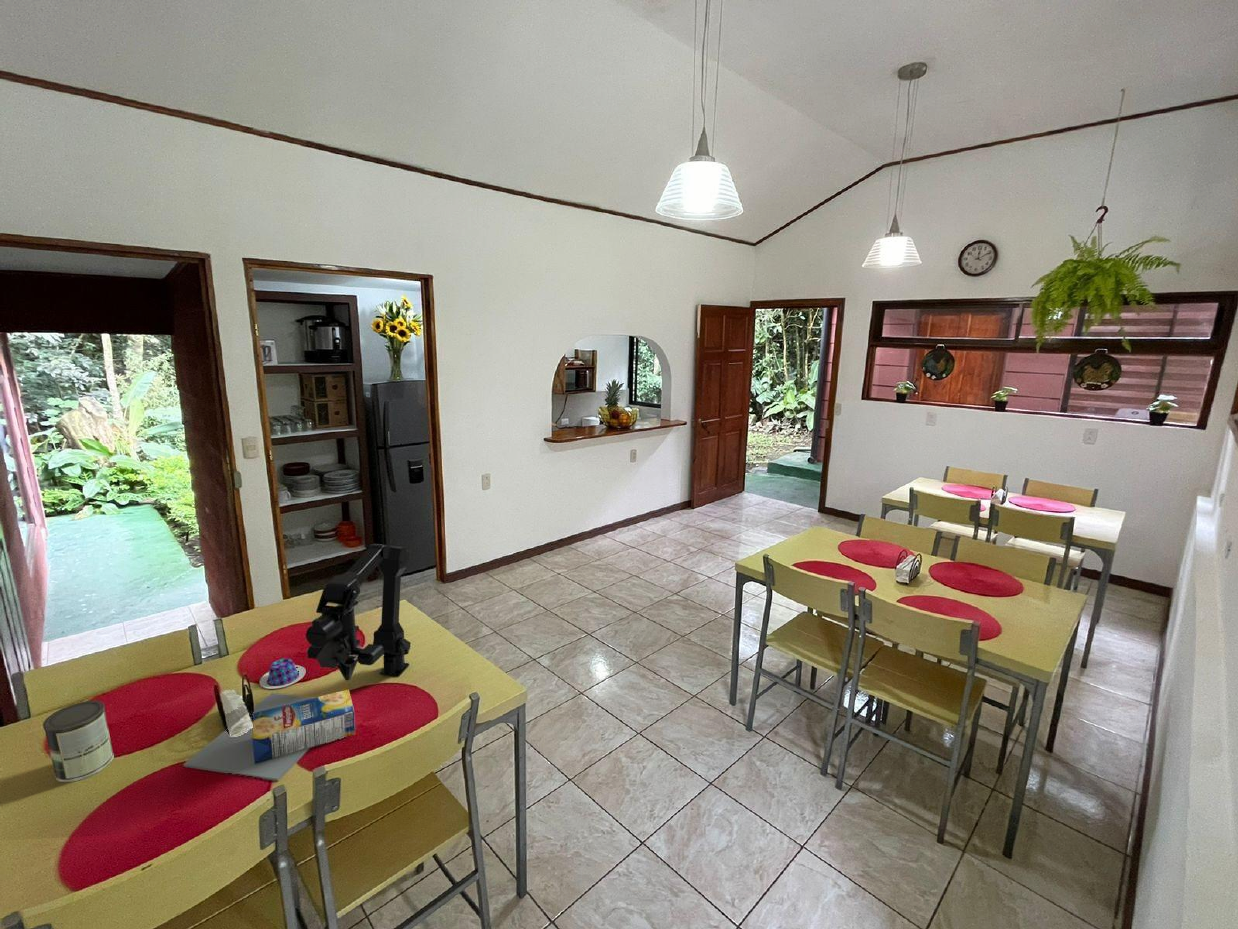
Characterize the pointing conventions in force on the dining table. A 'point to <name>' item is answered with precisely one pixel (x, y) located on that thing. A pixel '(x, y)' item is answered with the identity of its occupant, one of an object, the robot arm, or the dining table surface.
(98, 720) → the coffee can
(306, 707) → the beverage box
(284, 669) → the pudding
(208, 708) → the dining table surface
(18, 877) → the dining table surface
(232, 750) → the mat
